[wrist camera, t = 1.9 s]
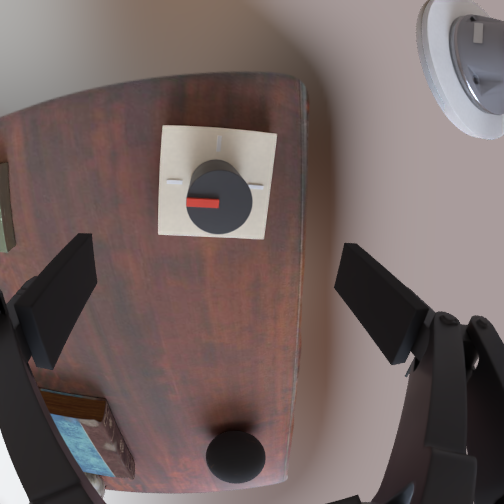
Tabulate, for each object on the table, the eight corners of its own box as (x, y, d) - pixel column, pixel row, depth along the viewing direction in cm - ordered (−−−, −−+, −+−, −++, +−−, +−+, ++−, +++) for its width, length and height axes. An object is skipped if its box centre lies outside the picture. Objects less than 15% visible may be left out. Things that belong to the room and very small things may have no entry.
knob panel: (270, 133, 28) (277, 133, 25) (258, 229, 31) (264, 240, 28) (166, 125, 26) (162, 125, 23) (161, 224, 29) (157, 235, 27)
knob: (242, 161, 25) (257, 173, 19) (237, 209, 27) (249, 237, 20) (192, 157, 24) (187, 168, 18) (188, 206, 26) (184, 234, 20)
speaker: (196, 426, 43) (199, 476, 34) (253, 414, 44) (264, 464, 35) (214, 450, 48) (219, 493, 39) (264, 440, 48) (275, 483, 39)
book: (135, 460, 47) (134, 479, 43) (63, 449, 44) (59, 466, 39) (107, 398, 38) (102, 422, 34) (20, 383, 35) (11, 403, 31)
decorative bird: (102, 465, 47) (99, 491, 41) (108, 486, 53) (106, 508, 46) (80, 459, 46) (76, 485, 39) (89, 481, 52) (87, 503, 45)
